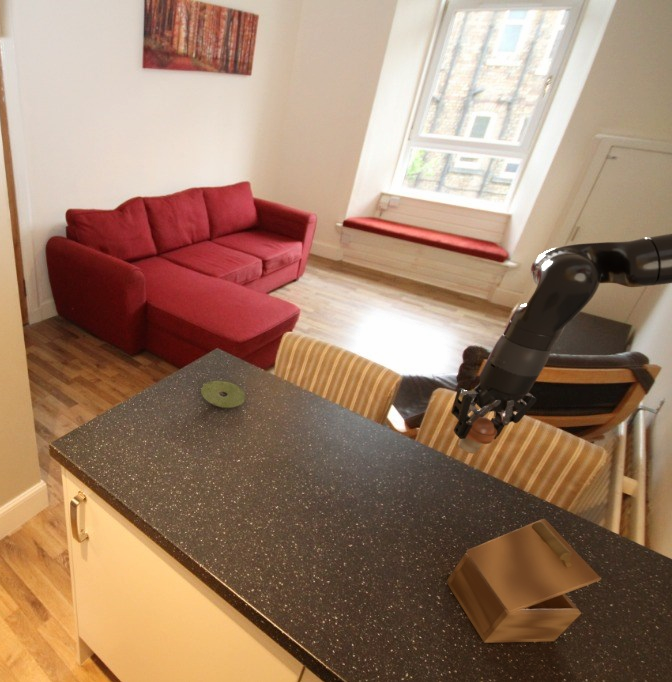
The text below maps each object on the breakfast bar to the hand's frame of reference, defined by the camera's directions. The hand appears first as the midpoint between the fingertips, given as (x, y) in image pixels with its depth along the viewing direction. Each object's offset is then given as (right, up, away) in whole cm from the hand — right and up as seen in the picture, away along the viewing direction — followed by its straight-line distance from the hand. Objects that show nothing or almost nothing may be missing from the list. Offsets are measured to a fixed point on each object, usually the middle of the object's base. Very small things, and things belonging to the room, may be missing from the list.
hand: (474, 435), depth 86 cm
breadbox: (-7, -25, -15) cm, 30 cm away
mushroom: (0, -3, +1) cm, 3 cm away
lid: (-7, -14, -21) cm, 26 cm away
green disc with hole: (-45, +3, +28) cm, 53 cm away
